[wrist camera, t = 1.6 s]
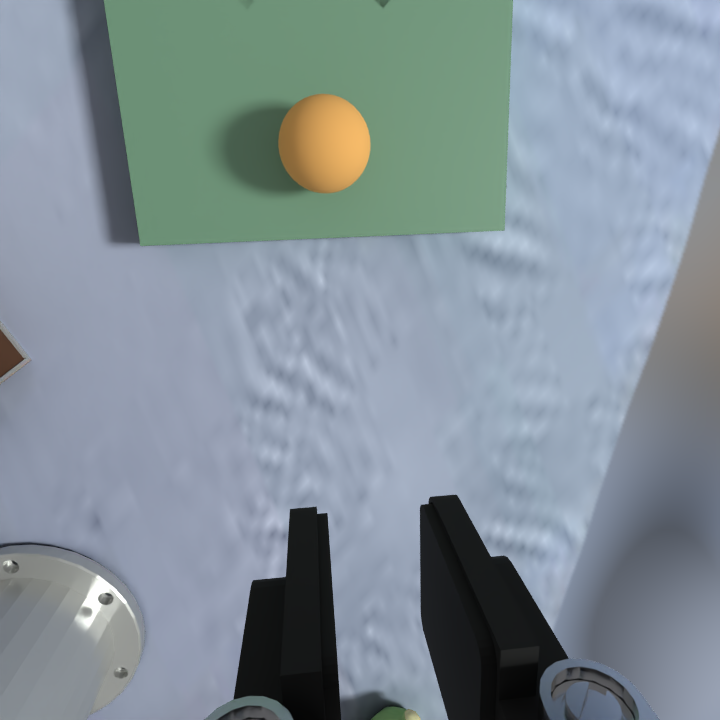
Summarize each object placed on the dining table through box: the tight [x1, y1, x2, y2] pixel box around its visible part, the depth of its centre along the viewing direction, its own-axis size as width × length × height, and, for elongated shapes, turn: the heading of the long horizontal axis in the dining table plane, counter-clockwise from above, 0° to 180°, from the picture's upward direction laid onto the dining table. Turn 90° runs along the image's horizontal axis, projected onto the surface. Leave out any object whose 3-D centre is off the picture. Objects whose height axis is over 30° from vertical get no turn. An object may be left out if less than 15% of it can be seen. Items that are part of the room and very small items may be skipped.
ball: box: [278, 94, 371, 193], centre depth 22 cm, size 4×4×4 cm
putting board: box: [104, 0, 513, 246], centre depth 24 cm, size 20×18×2 cm
